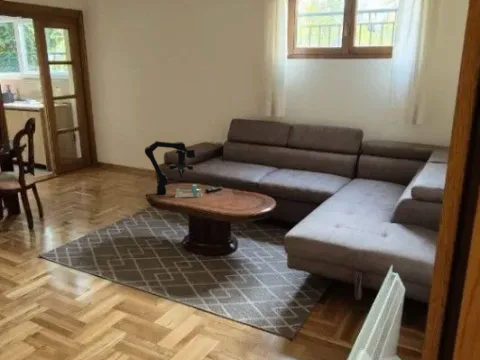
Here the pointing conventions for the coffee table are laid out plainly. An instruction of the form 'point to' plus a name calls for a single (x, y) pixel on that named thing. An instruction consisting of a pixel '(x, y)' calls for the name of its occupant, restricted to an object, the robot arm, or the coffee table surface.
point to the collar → (194, 189)
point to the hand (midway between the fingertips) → (181, 177)
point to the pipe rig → (188, 193)
